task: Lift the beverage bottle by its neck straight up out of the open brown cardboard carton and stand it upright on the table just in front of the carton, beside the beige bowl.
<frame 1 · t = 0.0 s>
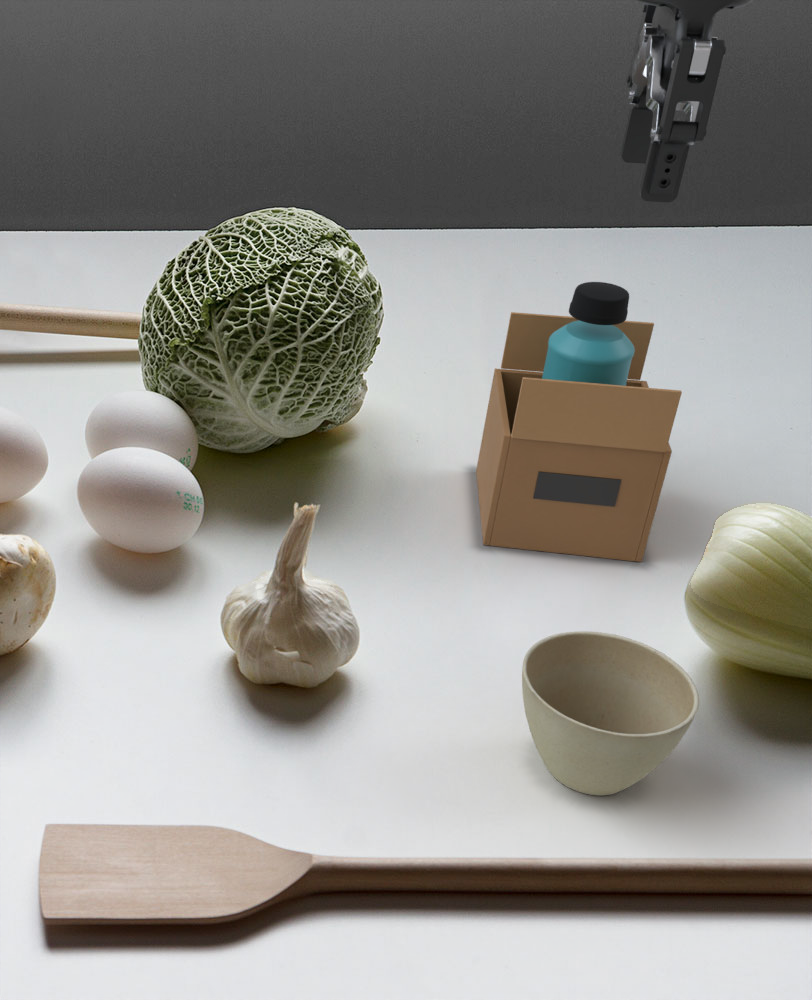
hand: (646, 180, 87), 30 cm above the table, tool pointing down, fingers open, 8 cm apart
carton: (554, 514, 107), on the table
beige bowl: (585, 769, 82), on the table
beverage bottle: (553, 516, 108), resting in carton
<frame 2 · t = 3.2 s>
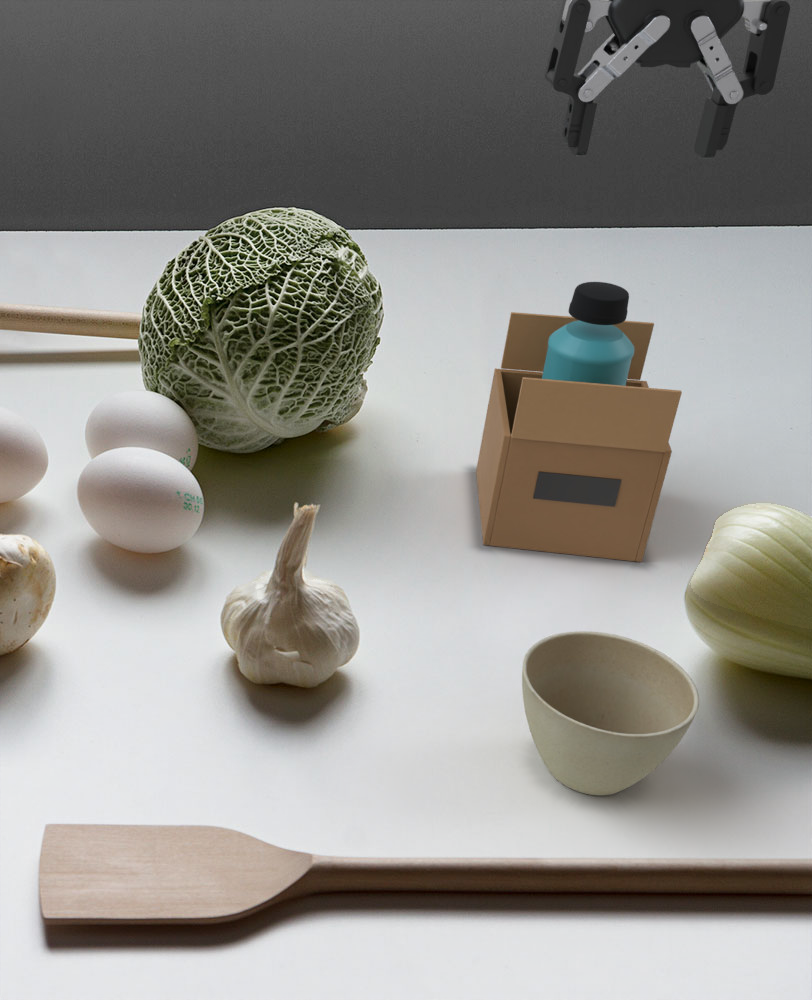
hand: (640, 154, 90), 31 cm above the table, tool pointing down, fingers open, 8 cm apart
nothing on the table moved.
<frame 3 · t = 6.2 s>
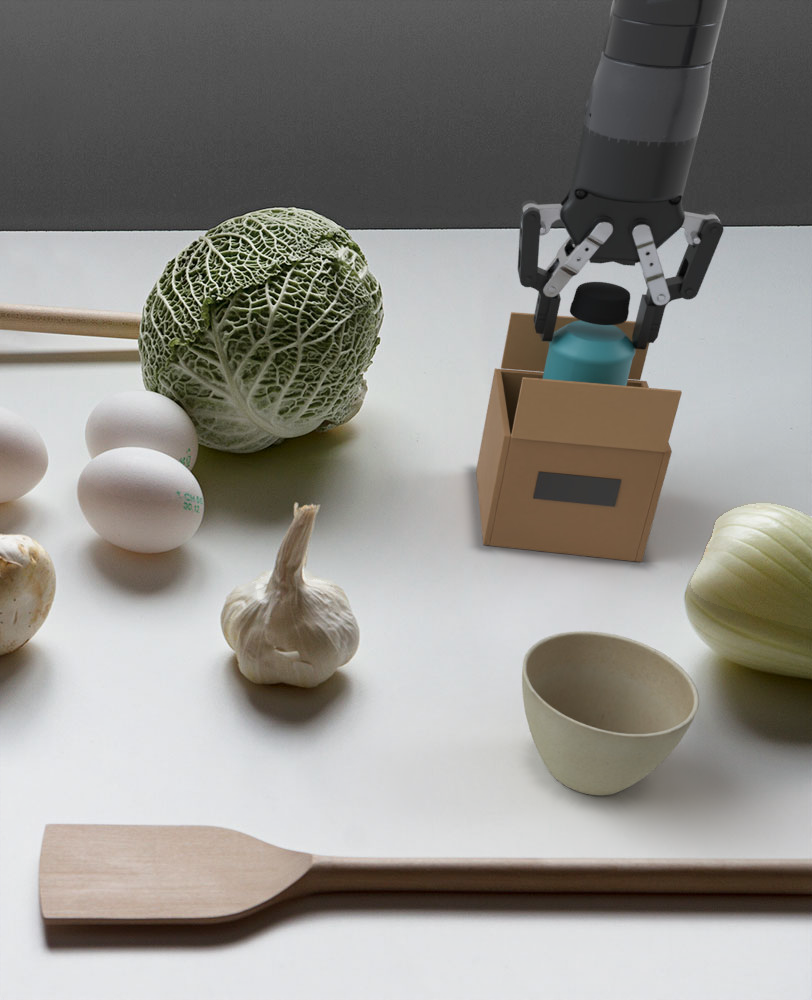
hand: (592, 340, 99), 16 cm above the table, tool pointing down, fingers closed on beverage bottle, 6 cm apart
beverage bottle: (553, 516, 108), resting in carton, touching gripper
everything else where it was.
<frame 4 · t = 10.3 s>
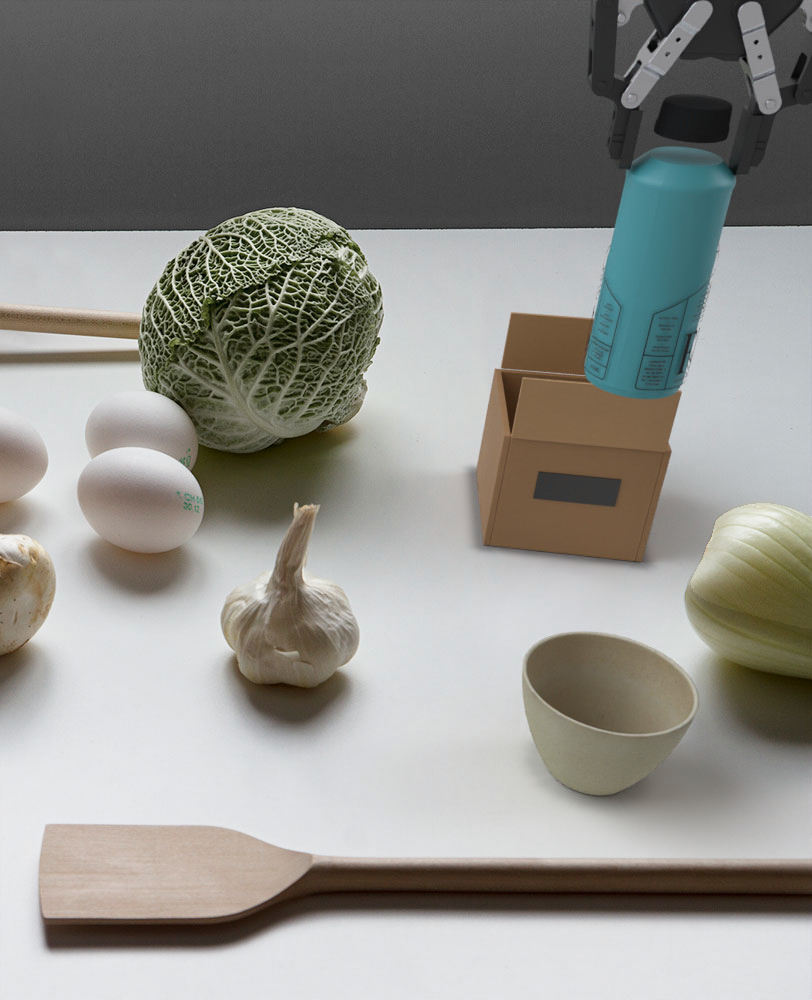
hand: (679, 168, 79), 33 cm above the table, tool pointing down, fingers closed on beverage bottle, 6 cm apart
beverage bottle: (624, 401, 87), point 17 cm above the table, touching gripper
everything else where it was.
when the fingers open (16 cm above the table, at t = 14.9 s): beverage bottle stays where it is, on the table.
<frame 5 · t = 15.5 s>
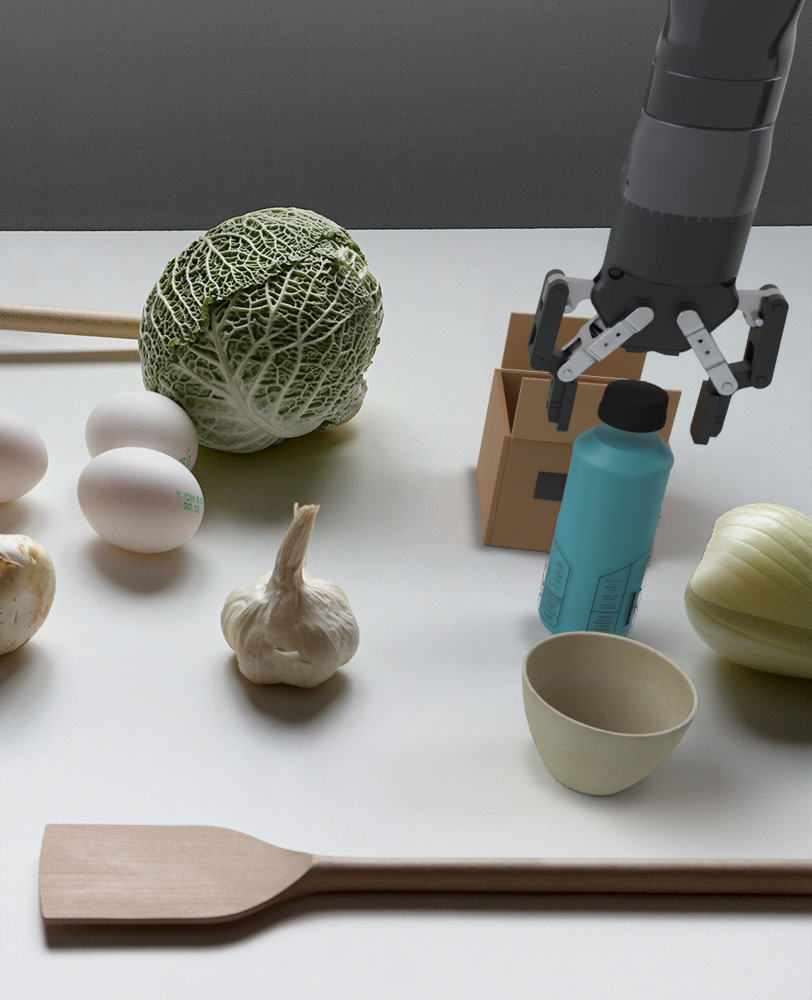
hand: (628, 432, 85), 17 cm above the table, tool pointing down, fingers open, 8 cm apart
beverage bottle: (577, 639, 93), on the table
everything else where it was.
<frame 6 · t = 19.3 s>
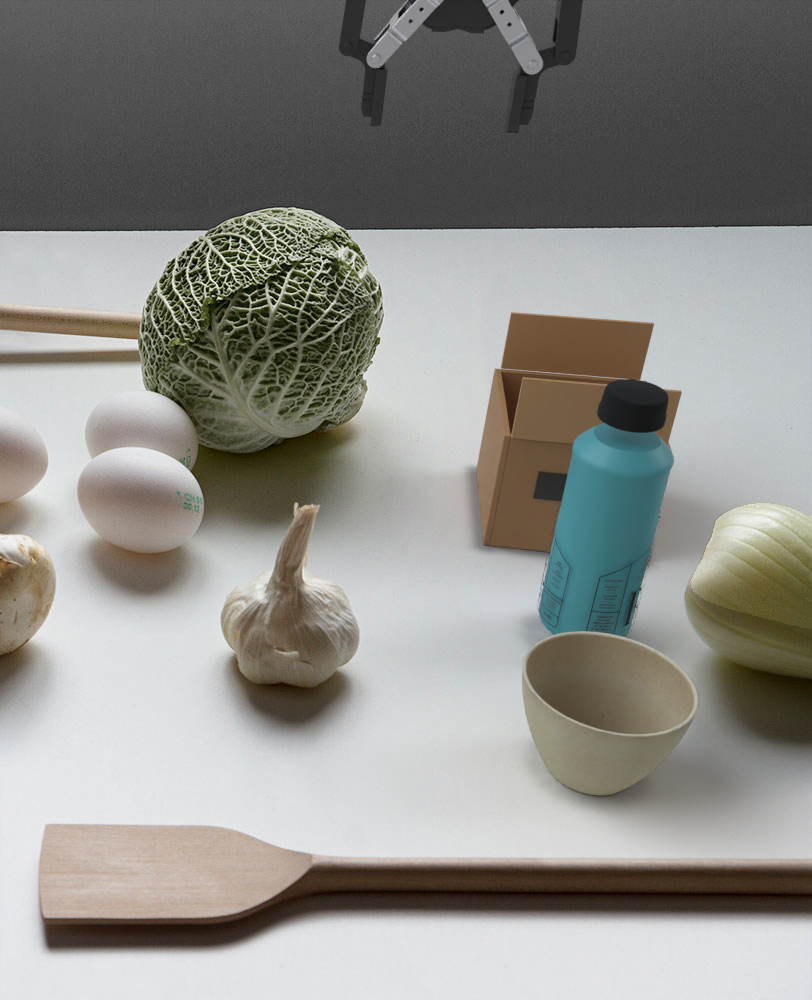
hand: (442, 127, 84), 34 cm above the table, tool pointing down, fingers open, 8 cm apart
nothing on the table moved.
at the end: beverage bottle inside the target area on the table beside the beige bowl (1.0 cm from its centre), on the table; beverage bottle 17.1 cm from the carton (horizontally); beverage bottle tilted 0° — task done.
